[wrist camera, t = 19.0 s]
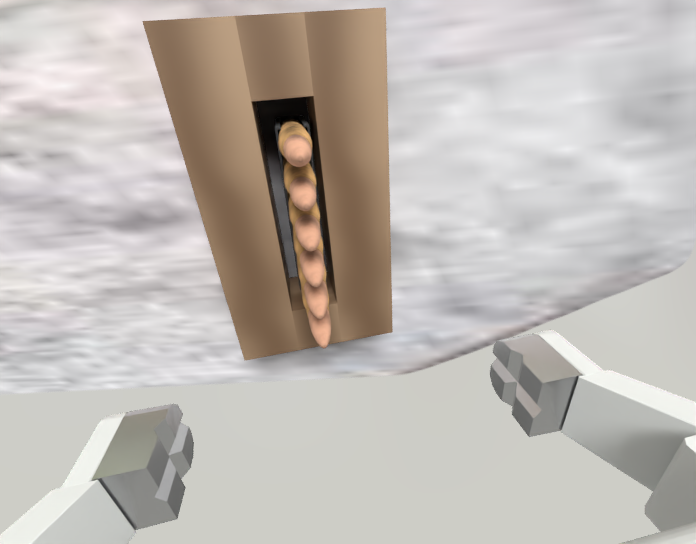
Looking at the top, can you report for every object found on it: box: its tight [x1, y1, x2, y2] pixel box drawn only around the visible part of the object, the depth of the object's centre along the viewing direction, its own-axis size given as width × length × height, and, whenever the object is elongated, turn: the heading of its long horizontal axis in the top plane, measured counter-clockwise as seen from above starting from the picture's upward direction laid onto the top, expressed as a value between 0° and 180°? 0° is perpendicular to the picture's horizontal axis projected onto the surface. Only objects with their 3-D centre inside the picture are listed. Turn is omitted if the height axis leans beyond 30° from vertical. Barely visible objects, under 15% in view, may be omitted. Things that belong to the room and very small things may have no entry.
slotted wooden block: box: [143, 8, 392, 360], centre depth 22 cm, size 11×20×5 cm, turn 5°
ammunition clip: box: [275, 116, 331, 348], centre depth 19 cm, size 11×2×12 cm, turn 4°
